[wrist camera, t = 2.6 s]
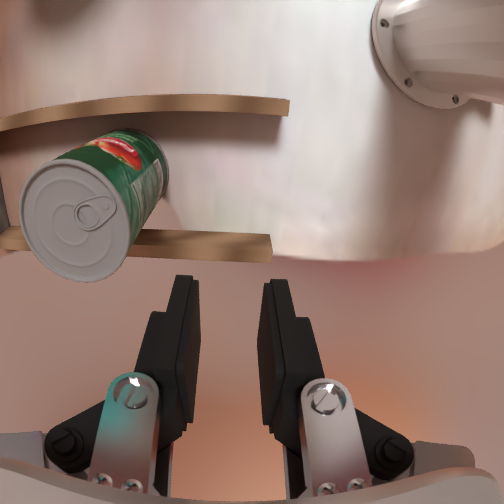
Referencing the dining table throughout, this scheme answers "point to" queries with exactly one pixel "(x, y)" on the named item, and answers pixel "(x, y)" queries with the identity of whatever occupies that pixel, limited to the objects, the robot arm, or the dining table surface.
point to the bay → (151, 240)
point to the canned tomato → (92, 203)
